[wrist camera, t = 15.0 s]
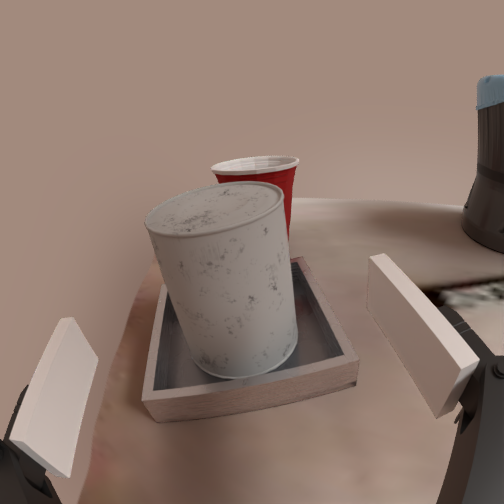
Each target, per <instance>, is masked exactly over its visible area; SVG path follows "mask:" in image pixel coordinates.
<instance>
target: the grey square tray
mask: <svg viewBox="0 0 504 504" xmlns="http://www.w3.org/2000/svg"><path fill="white" fill-rule="evenodd" d="M290 263H291V273H292V283H293V293H294V303H295V314H296V324H297V328H298V341H297V345H296V347H295V349H294V351H293V353H292V354H291V355H290V356H289V358H288V359H287V360H286V361H285V362H284V363H283V364H281V365H280V366H279V367H277V368H276V369H274V370H272V371H270V372H268V373H266V374H263V375H258V376H253V377H247V378H242V379H236V380H230V379H222V378H218V377H215V376H212V375H210V374H208V373H206V372H205V371H203V370H201V369H200V368H199V367H198V366H197V365H196V364H195V362H194V360H193V358H192V356H191V354H190V349H189V346H188V344H187V341H186V339H185V336H184V333H183V331H182V328H181V326H180V323H179V320H178V318H177V315H176V312H175V310H174V307H173V304H172V301H171V299H170V296H169V293H168V290H167V287H166V284H162V285H161V290H160V295H159V300H158V305H157V310H156V315H155V320H154V325H153V331H152V336H151V342H150V348H149V353H148V359H147V366H146V372H145V379H144V385H143V392H142V399H141V401H142V402H143V404H144V405H145V407H146V408H147V410H148V411H149V412H150V414H151V415H152V417H153V418H154V419H155V421H156V422H157V423H163V422H175V421H185V420H194V419H203V418H211V417H218V416H225V415H231V414H238V413H243V412H249V411H255V410H260V409H265V408H270V407H275V406H280V405H284V404H289V403H293V402H297V401H302V400H306V399H310V398H314V397H317V396H321V395H325V394H329V393H332V392H336V391H339V390H343V389H346V388H349V387H353V386H356V382H357V375H358V367H359V358H358V356H357V354H356V352H355V350H354V348H353V346H352V345H351V343H350V341H349V339H348V337H347V335H346V333H345V332H344V330H343V328H342V326H341V324H340V322H339V320H338V319H337V317H336V315H335V313H334V311H333V310H332V308H331V306H330V304H329V302H328V301H327V299H326V297H325V295H324V293H323V292H322V290H321V288H320V286H319V284H318V283H317V281H316V279H315V277H314V276H313V274H312V272H311V270H310V269H309V267H308V265H307V263H306V262H305V260H304V258H303V257H298V258H293V259H290Z"/></svg>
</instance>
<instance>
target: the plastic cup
mask: <svg viewBox="0 0 504 504" xmlns="http://www.w3.org/2000/svg"><path fill="white" fill-rule="evenodd" d="M298 163H299V159H298V158H295V157H289V156H260V157H249V158H242V159H235V160H231V161H225V162H222V163H219V164H215V165H214V166H212V167H211V170H212V172H213V173H214V174H215V175H216V177H217V179H218V182H219V184H221V183H228V182H239V181H255V182H265V183H270V184H273V185H276V186H278V187H279V188H280V189H282V191H283V194H284V199H283V203H284V211H285V219H286V228H287V236H288V241H289V225H290V218H291V203H292V186H293V181H294V175H295V170H296V166H297V165H298Z"/></svg>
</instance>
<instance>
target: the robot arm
mask: <svg viewBox="0 0 504 504" xmlns="http://www.w3.org/2000/svg"><path fill="white" fill-rule="evenodd" d="M476 110H478V158H477V175H476V178H475V181H474V184H473V186H472V189H471V191H470V194H469V197H468V200H467V202H466V204H465V205H464V208H463V214H462V222H461V223H462V227H463V229H464V231H465V232H466V233H467V234H468V235H469V236H470V237H471V238H473V239H474V240H476V241H477V242H479V243H481V244H482V245H484V246H486V247H489V248H491V249H493V250H496V251H499V252H502V253H504V75H491V76H485V77H483V78H481V79H480V80H479V82H478V84H477V106H476ZM367 309H368V310H369V312H370V313H371V315H372V316H373V318H374V319H375V321H376V322H377V324H378V325H379V327H380V328H381V330H382V331H383V333H384V335H385V336H386V338H387V339H388V341H389V342H390V344H391V345H392V347H393V348H394V350H395V352H396V353H397V355H398V356H399V358H400V359H401V361H402V363H403V364H404V366H405V367H406V369H407V371H408V372H409V374H410V376H411V377H412V379H413V380H414V382H415V384H416V385H417V387H418V389H419V390H420V392H421V394H422V395H423V397H424V399H425V400H426V402H427V404H428V406H429V407H430V409H431V411H432V412H433V414H434V416H435V418H436V419H437V418H439V417H441V416H443V415H445V414H447V413H449V412H451V411H453V410H454V408H455V406H456V405H457V403H458V401H459V402H460V403H461V405H462V406H463V407H462V409H461V411H460V412H459V414H458V416H457V417H456V419H455V421H454V423H455V424H456V423H457V422H458V420H459V423H458V428H457V433H456V437H455V442H454V446H453V450H452V454H451V458H450V461H449V465H448V469H447V472H446V475H445V479H444V482H443V485H442V488H441V491H440V494H439V497H438V500H437V503H436V504H504V356H495V355H494V354H493V353H492V352H491V351H490V349H489V348H488V347H487V346H486V345H485V343H484V342H483V341H482V340H481V339H480V338H479V336H478V335H477V334H476V333H475V332H474V331H473V330H472V329H471V327H470V326H469V325H468V324H467V323H466V322H464V320H463V318H462V317H461V316H460V315H459V314H458V313H457V312H456V311H454V310H453V309H451V308H449V307H447V306H445V305H444V306H442V307H439V308H436V307H435V306H434V305H433V304H432V302H431V301H430V300H429V299H428V298H427V297H426V296H425V295H424V294H423V293H422V291H421V290H420V289H419V288H418V287H417V286H416V285H415V284H414V283H413V282H412V281H411V280H410V279H409V278H408V277H407V275H406V274H405V273H404V272H403V271H402V270H401V269H400V268H399V267H398V266H397V265H396V264H395V263H394V262H393V261H392V260H391V259H390V258H389V257H388V256H387V255H386V254H385V253H383V254H379V255H375V256H370V257H369V275H368V294H367ZM97 364H98V357H97V356H96V354H95V353H94V351H93V349H92V348H91V346H90V345H89V343H88V341H87V340H86V338H85V336H84V335H83V333H82V331H81V330H80V328H79V326H78V324H77V323H76V321H75V319H74V318H73V317H66V318H61V319H60V320H59V322H58V324H57V326H56V328H55V330H54V332H53V334H52V336H51V338H50V340H49V342H48V344H47V346H46V348H45V350H44V353H43V355H42V357H41V359H40V361H39V364H38V366H37V368H36V370H35V372H34V375H33V377H32V380H31V382H30V384H29V385H27V386H26V387H25V389H24V390H23V391H22V392H21V394H20V397H19V399H18V401H17V405H16V406H15V409H14V413H13V414H12V417H11V420H10V422H9V425H8V428H7V431H6V434H5V437H4V440H3V441H2V440H1V439H0V504H62V503H61V501H60V499H59V497H58V495H57V493H56V491H55V489H54V488H53V486H52V484H51V481H50V480H49V478H48V477H47V476H46V475H45V472H46V470H48V471H49V472H50V473H52V474H53V475H54V476H57V477H63V478H70V476H71V470H72V465H73V459H74V454H75V449H76V444H77V440H78V436H79V431H80V427H81V423H82V418H83V414H84V410H85V406H86V402H87V399H88V395H89V391H90V387H91V384H92V380H93V377H94V374H95V370H96V367H97Z"/></svg>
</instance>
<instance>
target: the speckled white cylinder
mask: <svg viewBox="0 0 504 504" xmlns="http://www.w3.org/2000/svg"><path fill="white" fill-rule="evenodd" d="M283 199H284V194H283V191H282V189H280V188H279V187H278V186H276V185H273V184H270V183H265V182H255V181H239V182H228V183H221V184H215V185H210V186H206V187H202V188H198V189H195V190H191V191H188V192H185V193H182V194H180V195H177V196H175V197H173V198H171V199H169V200H166V201H164V202H163V203H161V204H160V205H158V206H156V207H155V208H154V209H153V210H151V211H150V212H149V214H148V215H147V216H146V219H145V226H146V228H147V230H148V232H149V235H150V238H151V242H152V245H153V248H154V251H155V254H156V257H157V261H158V264H159V267H160V270H161V273H162V276H163V278H164V281H165V284H166V287H167V290H168V293H169V296H170V299H171V301H172V304H173V307H174V310H175V312H176V315H177V318H178V320H179V323H180V326H181V328H182V331H183V333H184V336H185V339H186V341H187V344H188V346H189V349H190V354H191V356H192V358H193V360H194V362H195V364H196V365H197V366H198V367H199V368H200V369H201V370H203V371H205V372H206V373H208V374H210V375H212V376H215V377H218V378H222V379H230V380H236V379H242V378H247V377H253V376H258V375H263V374H266V373H268V372H270V371H272V370H274V369H276V368H277V367H279V366H280V365H281V364H283V363H284V362H285V361H286V360H287V359H288V358H289V356H290V355H291V354H292V353H293V351H294V349H295V347H296V345H297V341H298V328H297V324H296V314H295V303H294V293H293V283H292V273H291V263H290V254H289V245H288V236H287V228H286V219H285V211H284V203H283Z"/></svg>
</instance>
